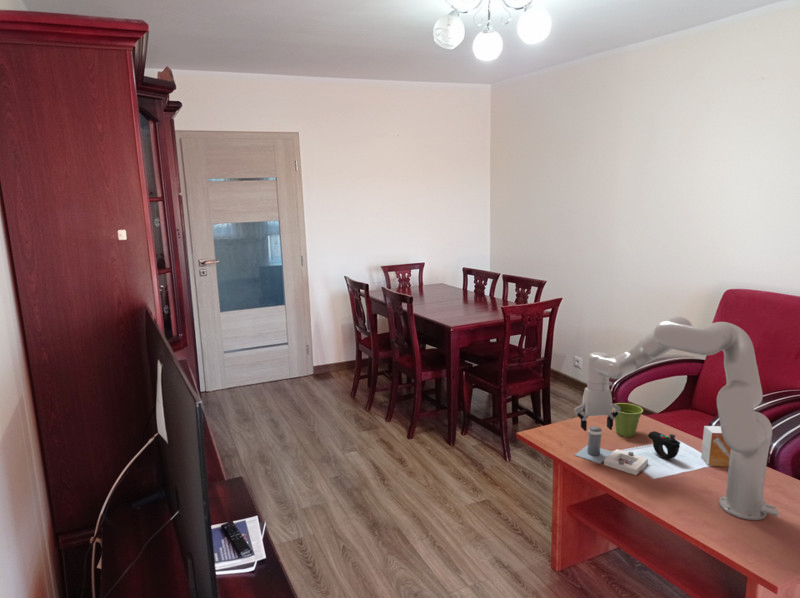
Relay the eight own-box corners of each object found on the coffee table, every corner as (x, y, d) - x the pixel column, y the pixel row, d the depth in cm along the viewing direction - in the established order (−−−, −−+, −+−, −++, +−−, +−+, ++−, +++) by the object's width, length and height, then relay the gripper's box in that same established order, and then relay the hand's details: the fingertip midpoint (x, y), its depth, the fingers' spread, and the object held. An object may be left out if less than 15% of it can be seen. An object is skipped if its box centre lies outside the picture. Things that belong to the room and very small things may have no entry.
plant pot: (646, 440, 217) (647, 413, 215) (616, 440, 217) (617, 413, 215) (634, 427, 228) (636, 402, 226) (606, 427, 229) (607, 402, 227)
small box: (708, 466, 195) (711, 432, 193) (700, 458, 201) (703, 425, 199) (732, 467, 194) (735, 433, 192) (723, 458, 200) (726, 425, 198)
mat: (613, 452, 207) (613, 451, 206) (600, 463, 198) (600, 463, 198) (588, 444, 213) (588, 444, 213) (574, 455, 205) (574, 454, 205)
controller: (672, 465, 196) (674, 439, 195) (645, 450, 208) (646, 426, 206) (680, 462, 198) (683, 437, 196) (653, 448, 209) (655, 424, 207)
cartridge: (597, 450, 208) (598, 426, 206) (602, 456, 203) (603, 431, 201) (585, 450, 208) (586, 426, 206) (589, 456, 203) (591, 431, 201)
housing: (647, 463, 198) (648, 456, 197) (635, 475, 190) (636, 467, 189) (616, 453, 206) (616, 447, 205) (603, 464, 197) (604, 457, 197)
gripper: (616, 381, 204) (615, 424, 207) (571, 383, 204) (570, 426, 207) (625, 387, 197) (623, 432, 200) (578, 389, 197) (577, 434, 199)
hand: (596, 428), depth 203 cm, fingers open, 9 cm apart
